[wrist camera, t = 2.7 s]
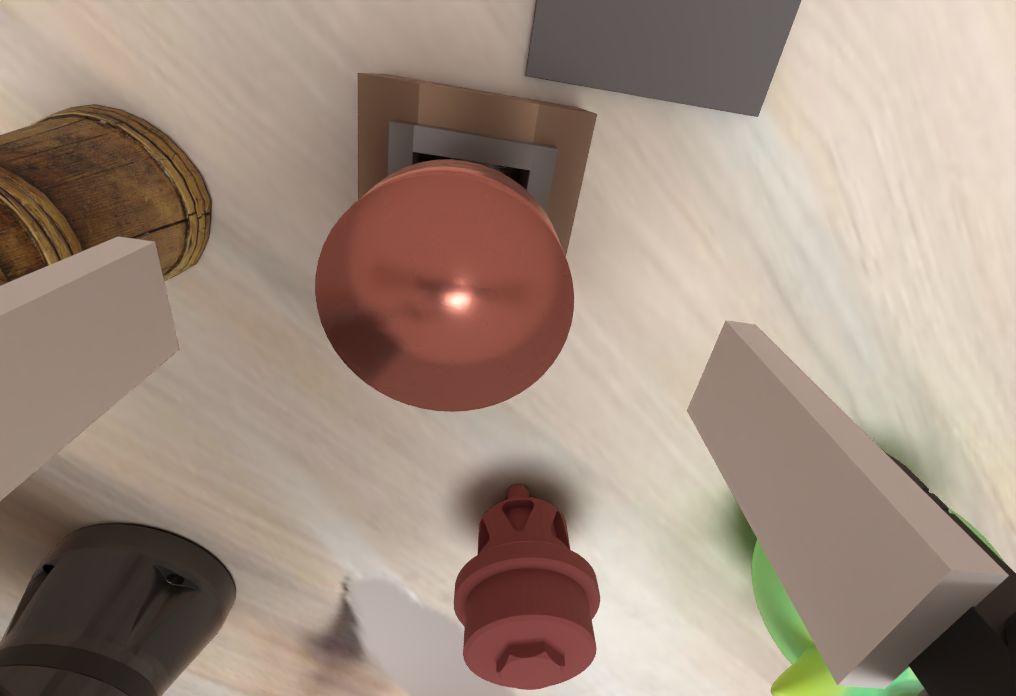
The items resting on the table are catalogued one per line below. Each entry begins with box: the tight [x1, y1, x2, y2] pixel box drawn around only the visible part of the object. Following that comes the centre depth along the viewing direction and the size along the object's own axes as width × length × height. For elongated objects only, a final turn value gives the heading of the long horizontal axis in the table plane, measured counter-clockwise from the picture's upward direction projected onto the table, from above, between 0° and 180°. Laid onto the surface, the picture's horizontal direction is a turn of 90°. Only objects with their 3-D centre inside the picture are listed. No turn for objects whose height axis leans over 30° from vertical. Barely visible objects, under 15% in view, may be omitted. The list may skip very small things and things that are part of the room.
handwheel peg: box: [315, 158, 574, 412], centre depth 20 cm, size 7×7×16 cm
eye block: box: [358, 73, 597, 257], centre depth 24 cm, size 10×10×6 cm
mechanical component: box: [454, 484, 600, 690], centre depth 34 cm, size 12×10×10 cm
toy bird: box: [752, 509, 1005, 696], centre depth 34 cm, size 18×17×15 cm
